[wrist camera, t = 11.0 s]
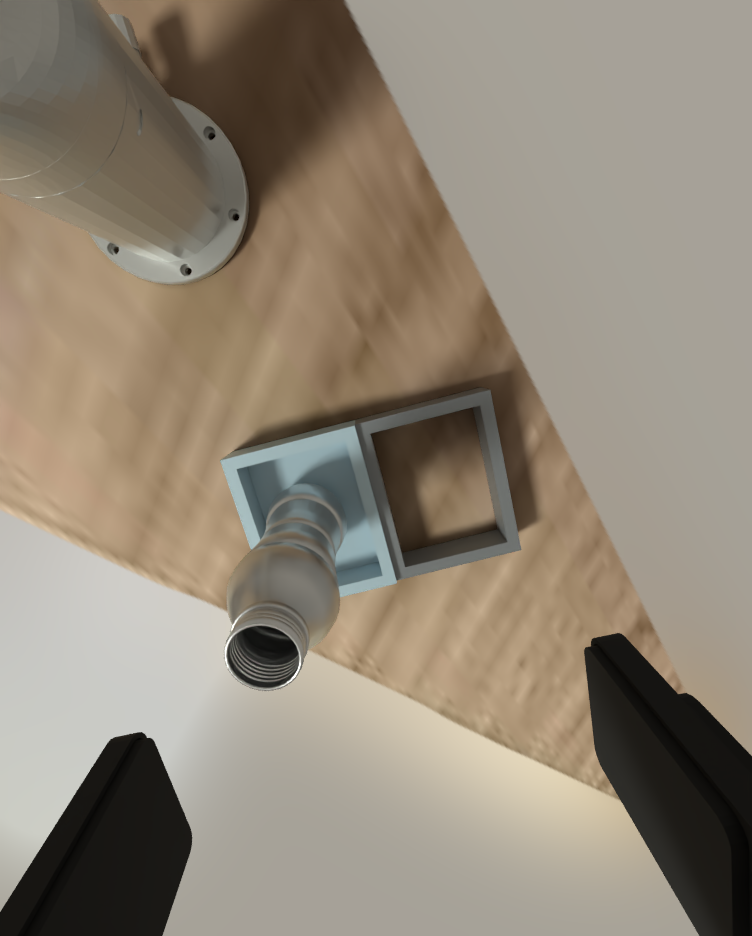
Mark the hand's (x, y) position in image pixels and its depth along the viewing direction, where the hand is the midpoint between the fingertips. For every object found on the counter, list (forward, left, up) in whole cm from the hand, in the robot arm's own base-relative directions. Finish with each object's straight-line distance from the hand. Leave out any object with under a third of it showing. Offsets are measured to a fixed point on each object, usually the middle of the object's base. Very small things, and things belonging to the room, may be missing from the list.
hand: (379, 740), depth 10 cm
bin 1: (+4, -6, -31) cm, 32 cm away
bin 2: (+4, +5, -31) cm, 32 cm away
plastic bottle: (+4, -6, -31) cm, 32 cm away
